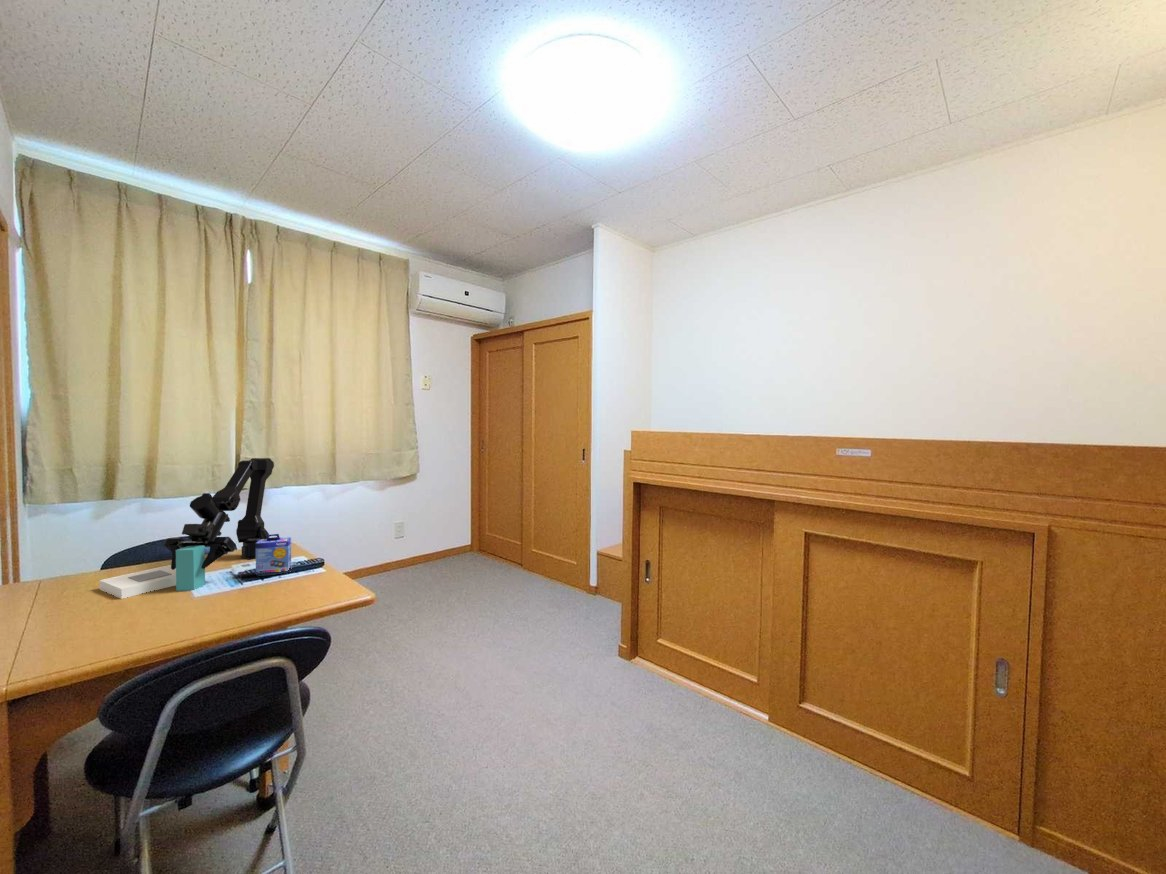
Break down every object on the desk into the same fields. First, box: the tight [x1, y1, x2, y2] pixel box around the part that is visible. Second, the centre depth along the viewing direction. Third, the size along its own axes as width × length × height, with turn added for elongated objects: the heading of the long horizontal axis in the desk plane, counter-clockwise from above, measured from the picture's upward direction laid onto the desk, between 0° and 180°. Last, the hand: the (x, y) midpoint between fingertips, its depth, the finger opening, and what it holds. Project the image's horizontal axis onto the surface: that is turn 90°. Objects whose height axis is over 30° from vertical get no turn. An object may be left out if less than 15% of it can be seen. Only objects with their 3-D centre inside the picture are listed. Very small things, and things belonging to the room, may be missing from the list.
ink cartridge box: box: [255, 533, 292, 573], centre depth 156 cm, size 10×6×14 cm, turn 115°
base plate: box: [98, 564, 176, 600], centre depth 146 cm, size 20×16×3 cm
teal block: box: [175, 546, 206, 592], centre depth 142 cm, size 5×5×13 cm
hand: (187, 568), depth 141 cm, fingers open, 8 cm apart
